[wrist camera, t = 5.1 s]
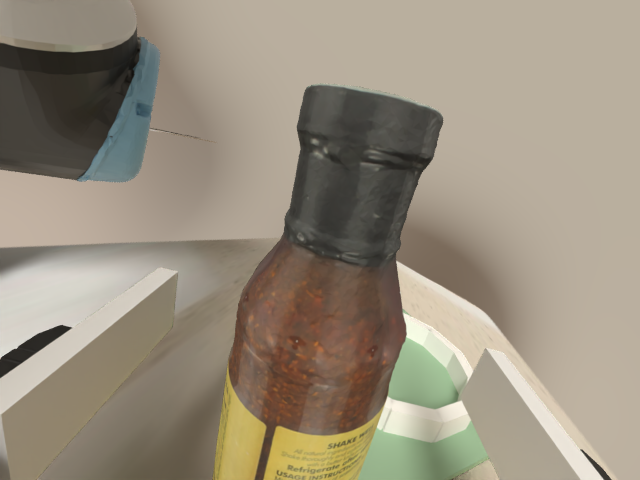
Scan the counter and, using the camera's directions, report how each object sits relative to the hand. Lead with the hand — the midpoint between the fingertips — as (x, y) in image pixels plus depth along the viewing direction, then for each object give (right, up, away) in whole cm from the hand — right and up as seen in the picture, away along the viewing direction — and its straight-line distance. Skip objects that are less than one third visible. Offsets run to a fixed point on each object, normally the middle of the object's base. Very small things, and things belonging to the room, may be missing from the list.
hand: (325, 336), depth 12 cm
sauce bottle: (-3, -10, +3) cm, 11 cm away
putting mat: (+6, -8, +15) cm, 18 cm away
